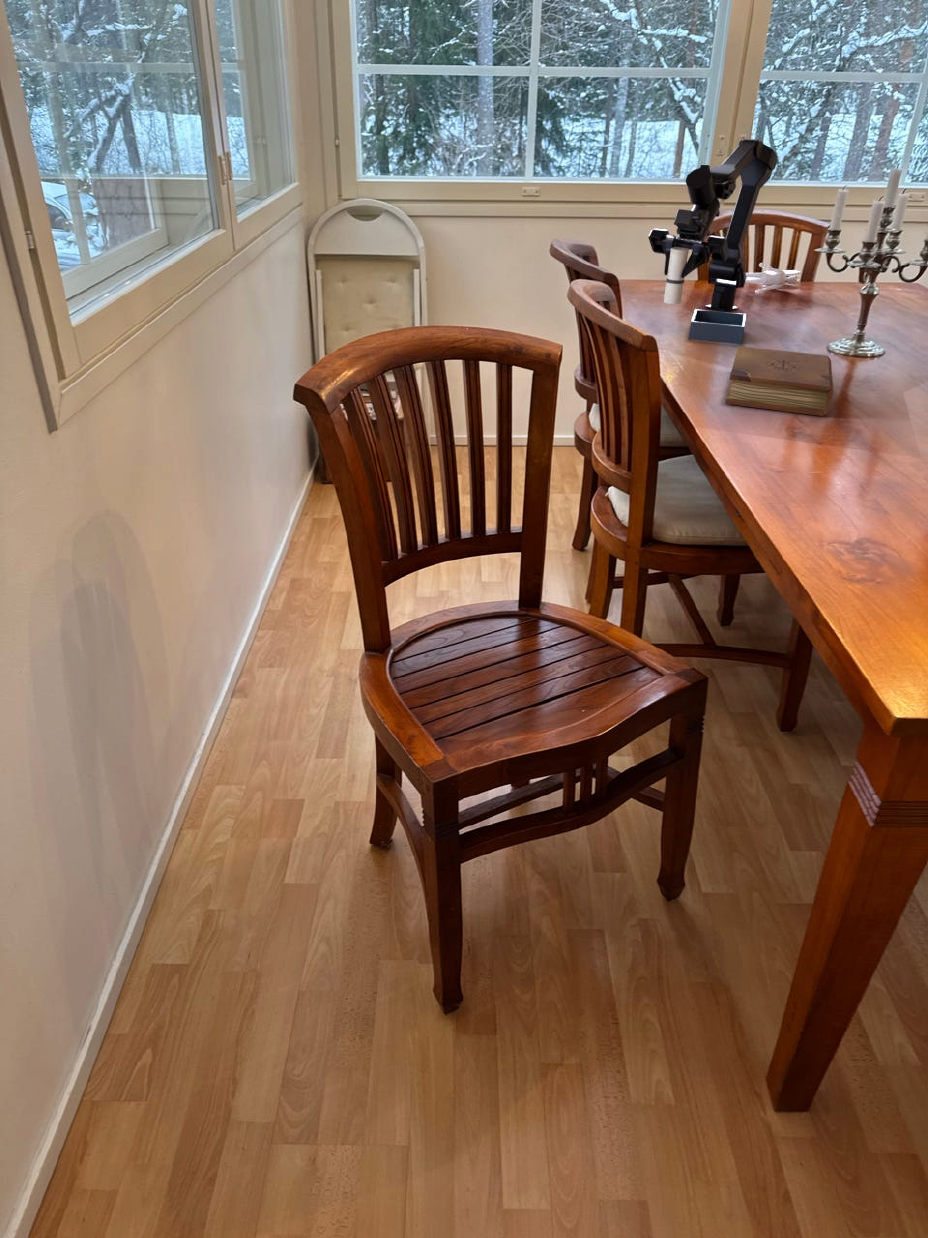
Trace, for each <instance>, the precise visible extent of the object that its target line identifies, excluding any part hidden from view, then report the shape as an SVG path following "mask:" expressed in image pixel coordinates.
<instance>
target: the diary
mask: <svg viewBox="0 0 928 1238" xmlns="http://www.w3.org/2000/svg"><path fill="white" fill-rule="evenodd" d="M832 367H833V366H832V360H831V358H830V357H829V355H826V354H825V355H824V354H815V353H806V352H797V351H790V350H789V351H788V350H779V349H771V348H760V347H753V346H744V345H738V347H737V349H736V353H735V357H734V361H733V363H732V368H731V371H730V373H729V374H730V375H729V380H730V381H729V386H728V389H727V393H726V397H725V401H724V404H726V405H732V406H733V405H734V406H741V407H749V408H756V409H763V410H773V411H779V412H786V413H787V412H789V413H796V414H804V415H812V416H819V417H824V416H825V415H827V413H829V410H830V406H831V403H832V399H833V395H834V383H833V382H834V381H833V369H832Z"/></svg>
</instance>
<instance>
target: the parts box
mask: <svg viewBox="0 0 928 1238" xmlns="http://www.w3.org/2000/svg"><path fill="white" fill-rule="evenodd" d="M746 319H747V313H740V312H731V311H728V312H723V311H719V310H708V309H697V308H695V309H694V312H693V314H692V317H691V321H690V326H689V332H688V339H687V340H693V341H701V342H711V343H712V342H714V343H722V344H723V343H724V344H732V345H742V342H743V337H744V333H745V328H746Z"/></svg>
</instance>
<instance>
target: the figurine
mask: <svg viewBox="0 0 928 1238" xmlns="http://www.w3.org/2000/svg"><path fill="white" fill-rule="evenodd" d="M758 266H759V267H760V268H763V269H765V270H764V272H745V273H746V282H745V284H744V285H747V284H749V285H761V288H760V289H757V290H755V291H754V293H755V294H756V295H759V294H760V293H763V292H769V291H771V290H785V291H786V290H788V291H796V290H798V289H799V288H800V286H799V285H797V284H799V283H800V282H799V281H798V279H799V278H800V276H798V275H801V274H802V271H800V270H797V269H791V270H790V269H787V270H786V269H779V268H774V267H772V266H771V265H765V264H764V262H760V263H759V264H758ZM735 282H736V281H735ZM786 282H787V283H786Z"/></svg>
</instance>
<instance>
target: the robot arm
mask: <svg viewBox="0 0 928 1238" xmlns="http://www.w3.org/2000/svg"><path fill="white" fill-rule="evenodd" d="M777 163H778V155H777V153H776V151H775V149H773V148H772V147H770V146H768V145H766V144H765V143H764V142H763V141H762V140H760V139H756V138H743V139H740V141H739V143H738V145H737V147H736V148H735V149H734V150H733V152H731V154H730V155H729V156H728V157H727V158H726V159H725V160H724V161H723V162H722V163H721V164H720V165H717V166H713V167H711V166H710V164H702V163H701V164H700V167H697V168H695V169H693V170H692V171H691V172H689V173H688V174H687V175H686V178H685V185H686V189H687V193H688V196H689V201H690V203H691V204H693V207H692V208H691V210H690V209H682V208H679V209H677V211H676V215H675V217H674V218H675V219H674V221H673V225H674V226H676V227H677V228H676V230H675V231H676V234H677V235H678V236H676V235H674V234H670V232H669V229H661V228H653V229H651V230H650V233H649V234H648V241H649V244H650V248H651V250H652V252H653V253H655V254H662V255H664V256H665V261H664V271H663V274H664V276H667V274H668V267H669V260H670V252H671V248H673V247H682V248H687V249H689V251H691V254H690V255H689V257H688V258H687V263H686V265H685V267H684V269H683V271H682V274H681V277H682V278H684V279H685V278H686V277H687V276H689V274H691V273H693V271H695V270H696V269H698V268H699V267H701V266H703V265H705V264H708V269H707V270H708V271H707V284H709V285H711V284H712V285H713V290H712V295H711V301H710V304H707V305H705V308H706V309H711V310H713V311H719V312H731V311H735V310H738V309H739V306H737V305H735V300H736V294H737V289H740V288H745V285H746V284H745V282H746V273H747V272H746V268H745V262H746V261H745V260H746V258H745V254H744V250H743V245H744V242H745V240H746V236H747V232H748V230H749V226H750V223H751V221H752V220H751V219H752V217H753V214H754V211H755V210H754V209H755V207H756V203H757V200H758V197H759V194H760V190H761V188H763V186H764V185H766V183H767V182H768V181H770V179H771V178H772V174H773V171H774V170H775V169H776V168H777ZM739 177H740V180H741V187H740V189H739V193H738V197H737V199H736V203H735V205H734V206H735V207H734V210H733V213H732V216H731V218H730V219H731V220H730V221H729V226H728V229H727V233H726V236H725V237H723V236H715V235H711V227H712V225H713V223H714V221H715V219H716V218H717V217H718V218H719V217H720V213H721V211H720V208H721V204H720V200H728V199H730V197H732V195H733V194H734V192H735V190H736V189H737V179H738V178H739ZM706 237H708V238H707V240H706V241H705V239H706ZM710 258H711V260H710ZM735 281H736V282H735Z"/></svg>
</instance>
